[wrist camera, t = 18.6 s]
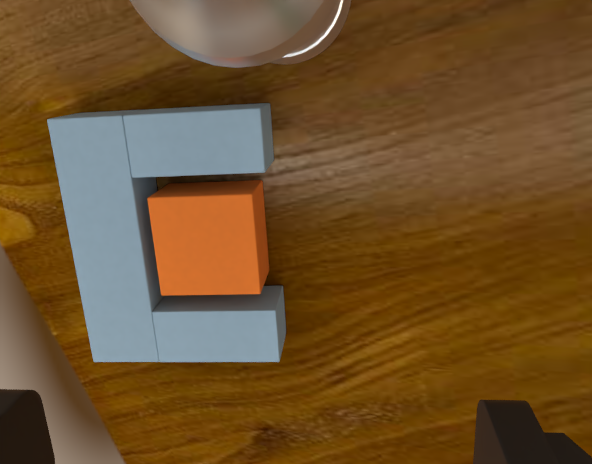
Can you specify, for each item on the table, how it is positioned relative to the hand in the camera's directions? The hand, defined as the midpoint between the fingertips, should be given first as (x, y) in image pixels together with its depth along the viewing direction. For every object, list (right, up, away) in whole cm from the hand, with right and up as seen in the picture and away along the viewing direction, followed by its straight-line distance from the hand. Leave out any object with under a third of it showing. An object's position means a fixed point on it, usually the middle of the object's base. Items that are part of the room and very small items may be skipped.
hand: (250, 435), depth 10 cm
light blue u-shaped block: (-6, +4, +22) cm, 23 cm away
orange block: (-4, +4, +22) cm, 23 cm away
